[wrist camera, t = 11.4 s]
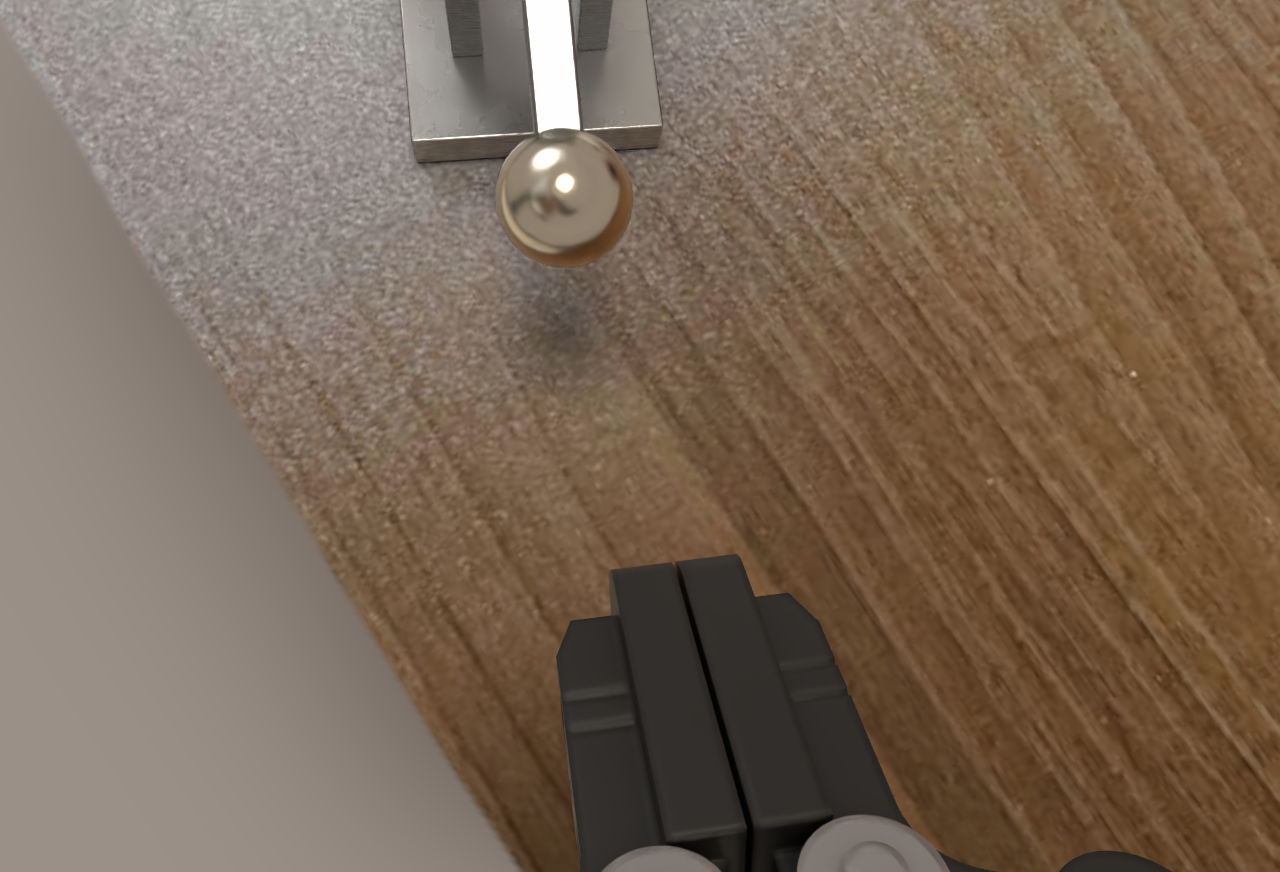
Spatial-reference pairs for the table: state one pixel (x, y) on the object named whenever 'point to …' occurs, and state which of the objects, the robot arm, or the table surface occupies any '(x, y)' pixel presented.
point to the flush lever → (560, 158)
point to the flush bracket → (522, 76)
